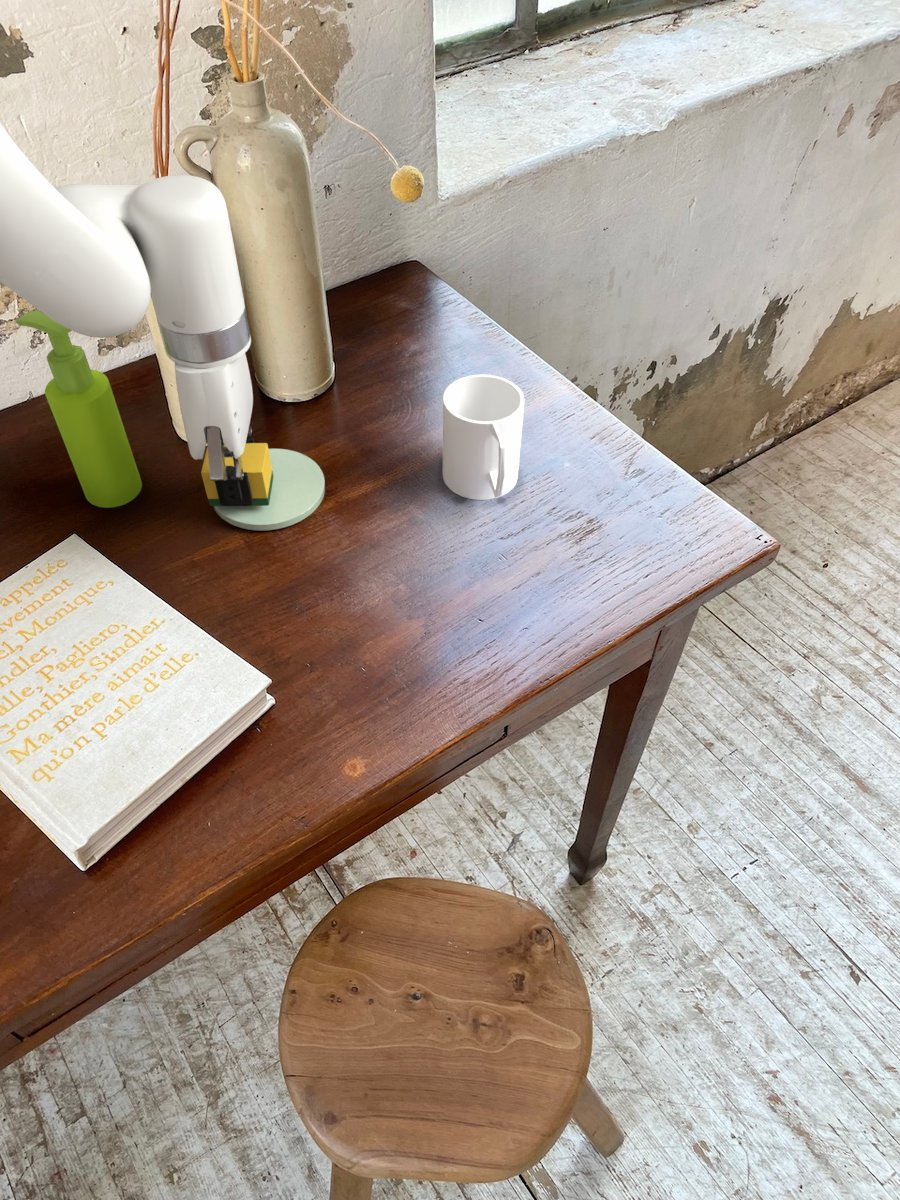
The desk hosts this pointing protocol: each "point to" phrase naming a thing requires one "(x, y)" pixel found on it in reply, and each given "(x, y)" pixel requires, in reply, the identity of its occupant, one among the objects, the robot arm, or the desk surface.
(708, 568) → the desk surface
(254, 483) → the sponge
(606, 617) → the desk surface
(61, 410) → the soap dispenser
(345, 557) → the desk surface
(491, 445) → the cup
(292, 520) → the plate
